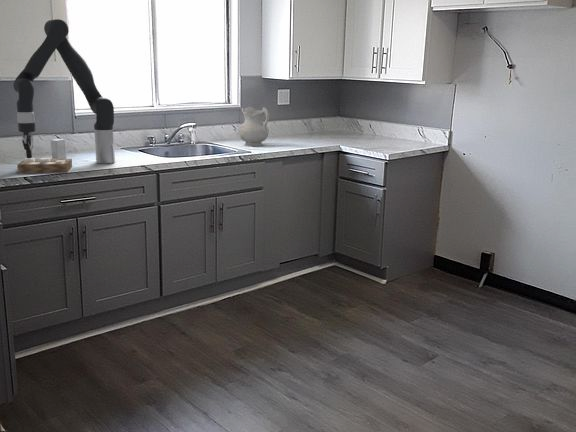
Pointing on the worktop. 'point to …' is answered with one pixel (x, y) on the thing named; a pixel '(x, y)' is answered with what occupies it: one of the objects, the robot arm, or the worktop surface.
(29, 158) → the button
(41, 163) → the button board
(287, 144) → the worktop surface
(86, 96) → the robot arm
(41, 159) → the button middle
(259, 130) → the ceramic pitcher
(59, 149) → the skincare box
